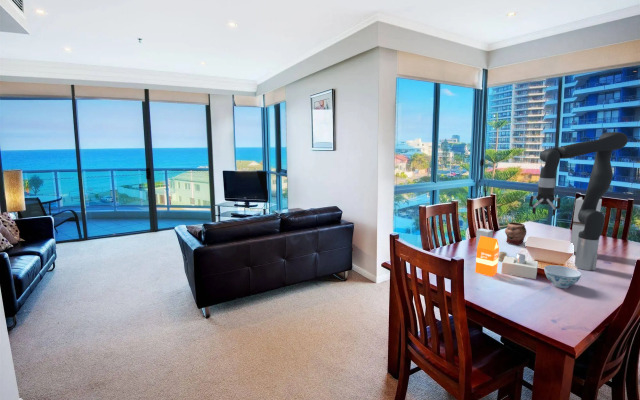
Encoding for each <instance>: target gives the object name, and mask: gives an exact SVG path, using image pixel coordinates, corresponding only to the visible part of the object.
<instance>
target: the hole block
mask: <svg viewBox="0 0 640 400" xmlns="http://www.w3.org/2000/svg"><path fill="white" fill-rule="evenodd" d="M516 258H517V257H513V256H505V257H504V260H503V262H501V263H502V264H501V271H500V272H501V274H506V275H510V276H511V275H512V276H517V277H521V278H527V279H533V280H536V279H537V273H538V265H539V261H536V260H531V259H526V258H525V264H519V263H516Z"/></svg>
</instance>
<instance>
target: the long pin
mask: <svg viewBox="0 0 640 400" xmlns="http://www.w3.org/2000/svg"><path fill="white" fill-rule="evenodd" d="M515 258H516V263H519V264H525V259H526V255H525V254H524V253H516V257H515Z"/></svg>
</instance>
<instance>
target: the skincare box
mask: <svg viewBox="0 0 640 400" xmlns="http://www.w3.org/2000/svg"><path fill="white" fill-rule="evenodd" d="M475 235H476V238H475V239H476V240H475V241H476V242H475V252H477V246H478V243H479V240H480V237H481V236H484V237H489V238H494V230H492V229H487V228H482V227H481V228H478V229H476V234H475Z"/></svg>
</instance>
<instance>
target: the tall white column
mask: <svg viewBox="0 0 640 400" xmlns="http://www.w3.org/2000/svg"><path fill="white" fill-rule="evenodd" d="M583 201H584V199H583V196H579V197H578V198H576V199H575V204H574V212H573V220H572V229H571V235H570V243H573V245H574V255H573V256H576V250H577V242H578V235H579V232H580V231H583V230H584V227H585V225H584V224H582V223H580V222H579V220H578V213H579V211H580V208H581V206H582V203H583ZM602 201H603V199H602V198H600V200H599V202H598V204H597V208H596V211H599V212H601V208H602Z"/></svg>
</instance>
